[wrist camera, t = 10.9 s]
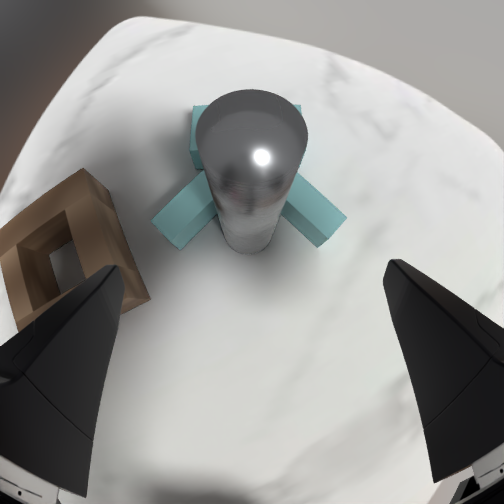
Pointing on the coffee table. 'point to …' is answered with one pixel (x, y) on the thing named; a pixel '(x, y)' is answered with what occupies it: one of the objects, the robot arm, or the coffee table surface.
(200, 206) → the teal y-shaped block
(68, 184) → the brown square frame
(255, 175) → the axle
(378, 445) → the coffee table surface
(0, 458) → the robot arm
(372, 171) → the coffee table surface
